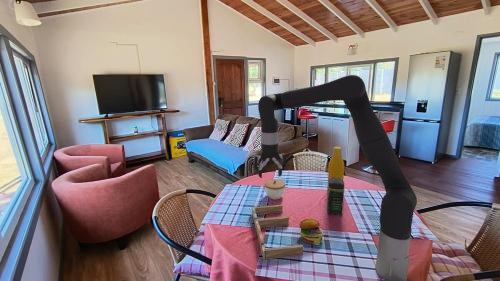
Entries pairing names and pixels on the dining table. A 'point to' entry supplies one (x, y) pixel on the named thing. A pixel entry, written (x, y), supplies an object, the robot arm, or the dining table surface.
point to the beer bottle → (336, 165)
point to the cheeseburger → (311, 231)
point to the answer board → (272, 222)
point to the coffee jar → (335, 196)
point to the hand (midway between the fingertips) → (270, 176)
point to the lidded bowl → (275, 188)
